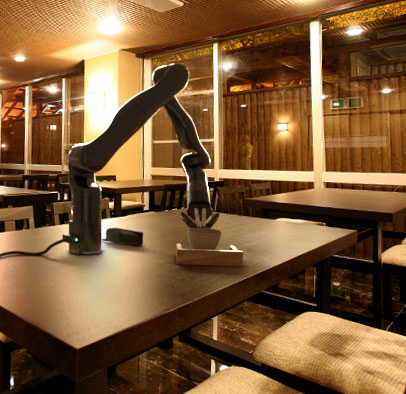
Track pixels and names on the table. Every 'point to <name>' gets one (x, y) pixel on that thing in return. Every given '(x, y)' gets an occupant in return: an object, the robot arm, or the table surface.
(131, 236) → the black rounded block
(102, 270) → the table surface
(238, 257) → the low wooden tray
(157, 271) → the table surface
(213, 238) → the flower pot
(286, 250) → the table surface
